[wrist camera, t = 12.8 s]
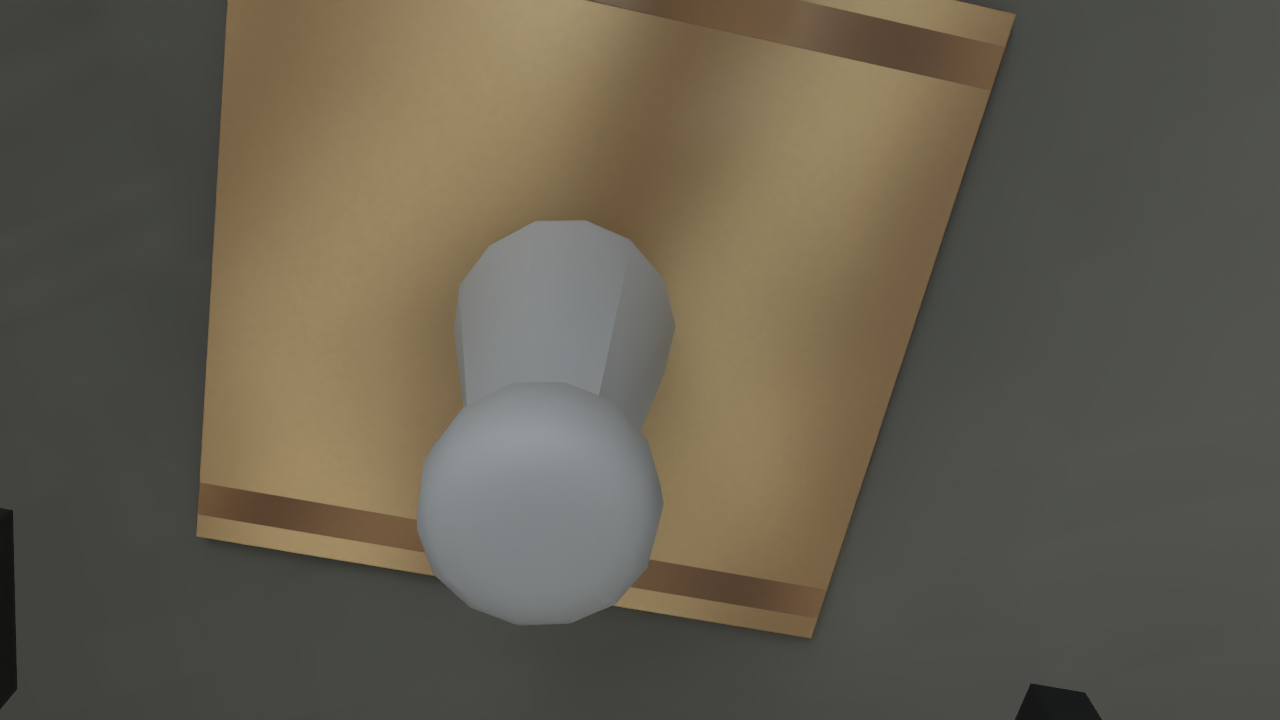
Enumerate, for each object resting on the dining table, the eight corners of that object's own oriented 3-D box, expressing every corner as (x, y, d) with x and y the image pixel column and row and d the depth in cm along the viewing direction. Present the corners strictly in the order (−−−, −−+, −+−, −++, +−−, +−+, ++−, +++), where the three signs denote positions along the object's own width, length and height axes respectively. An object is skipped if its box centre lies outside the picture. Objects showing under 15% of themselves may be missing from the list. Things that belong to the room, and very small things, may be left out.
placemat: (1011, 13, 26) (1017, 14, 26) (809, 631, 33) (811, 639, 33) (242, -164, 25) (236, -166, 24) (200, 530, 32) (195, 536, 31)
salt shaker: (474, 394, 30) (375, 689, 18) (458, 203, 28) (332, 389, 15) (671, 389, 30) (708, 679, 18) (670, 198, 28) (710, 379, 16)
